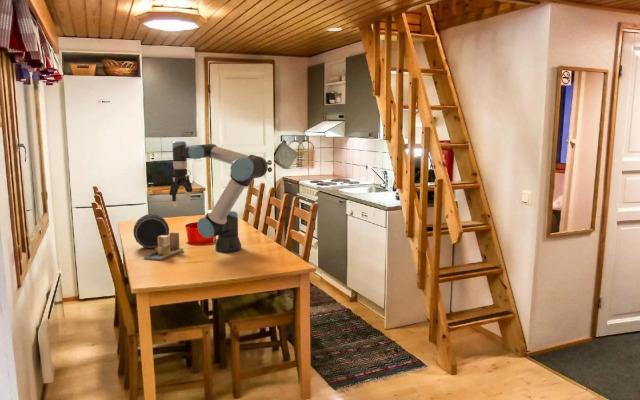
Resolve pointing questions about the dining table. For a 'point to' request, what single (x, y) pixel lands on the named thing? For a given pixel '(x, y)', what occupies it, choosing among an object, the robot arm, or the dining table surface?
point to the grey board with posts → (173, 249)
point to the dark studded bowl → (150, 230)
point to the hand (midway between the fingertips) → (181, 204)
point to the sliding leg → (163, 244)
